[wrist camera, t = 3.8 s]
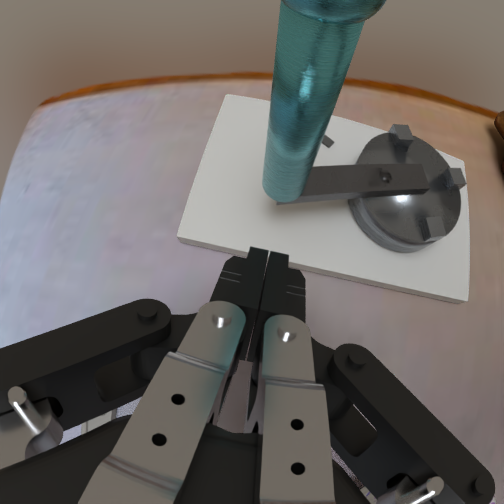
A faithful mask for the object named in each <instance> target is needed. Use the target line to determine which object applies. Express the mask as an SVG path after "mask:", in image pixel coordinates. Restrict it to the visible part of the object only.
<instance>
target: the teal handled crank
mask: <svg viewBox="0 0 504 504" xmlns="http://www.w3.org/2000/svg"><path fill="white" fill-rule="evenodd" d="M385 1H386V0H281V5H280V14H279V24H278V34H277V44H276V53H275V63H274V72H273V82H272V92H271V101H270V111H269V120H268V130H267V139H266V149H265V158H264V168H263V177H262V186H263V189H264V191H265V193H266V194H267V195H268V196H269V197H270V198H272V199H273V200H275V201H276V205H284V204H294V203H305V202H317V201H329V200H341V199H348V203H349V206H350V209H351V212H352V214H353V216H354V218H355V220H356V221H357V223H358V224H359V226H360V227H361V228H362V230H363V231H364V232H365V233H366V234H367V235H368V236H369V237H370V238H371V239H372V240H374V241H375V242H376V243H378V244H379V245H381V246H383V247H385V248H387V249H390V250H392V251H396V252H402V253H410V252H416V251H419V250H422V249H424V248H426V247H427V246H429V245H431V244H433V243H434V242H436V241H438V240H440V239H442V238H443V237H445V236H447V234H449V233H450V232H451V231H452V230H453V228H454V227H455V225H456V223H457V221H458V219H459V216H460V211H461V194H460V189H461V188H463V187H464V186H465V185H466V184H467V183H466V181H465V178H464V175H463V173H462V170H461V168H450V166H449V165H448V163H447V162H446V160H445V159H444V158H443V157H442V156H441V155H440V153H439V152H438V151H436V150H435V149H434V148H433V147H432V146H430V145H429V144H428V143H426V142H425V141H423V140H421V139H419V138H417V137H415V136H412V133H411V131H410V129H409V126H408V125H397V124H393V125H392V127H391V128H390V130H389V132H387V133H383V134H380V135H378V136H376V137H374V138H372V139H371V140H370V141H369V142H368V143H367V144H366V145H365V147H364V149H363V150H362V152H361V154H360V156H359V157H358V159H357V161H356V162H355V164H354V165H333V166H315V167H313V164H314V162H315V159H316V156H317V154H318V151H319V148H320V146H321V143H322V140H323V138H324V135H325V132H326V130H327V127H328V124H329V121H330V119H331V116H332V113H333V110H334V108H335V105H336V102H337V99H338V97H339V94H340V91H341V88H342V85H343V83H344V80H345V77H346V74H347V71H348V68H349V65H350V63H351V60H352V57H353V54H354V51H355V48H356V45H357V42H358V39H359V36H360V34H361V30H362V27H363V25H364V22H365V20H367V19H369V18H370V17H372V16H373V15H375V14H376V13H377V12H378V11H379V10H380V9H381V8H382V6H383V5H384V4H385Z"/></svg>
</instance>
